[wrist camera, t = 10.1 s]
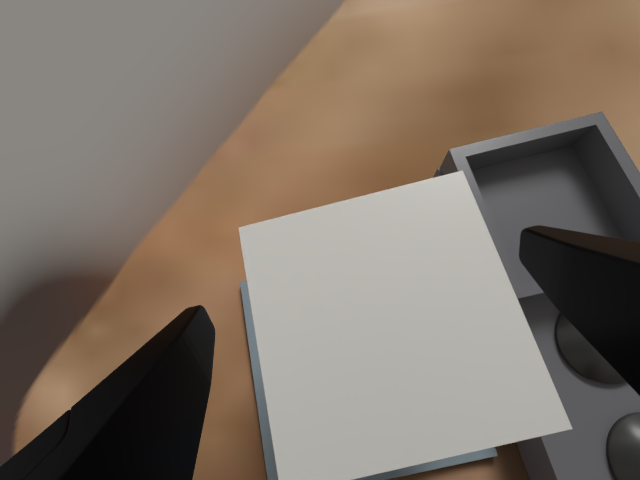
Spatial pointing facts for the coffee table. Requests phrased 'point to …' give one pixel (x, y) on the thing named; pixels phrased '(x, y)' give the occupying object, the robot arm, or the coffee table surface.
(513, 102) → the coffee table surface
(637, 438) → the power strip
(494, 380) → the block
